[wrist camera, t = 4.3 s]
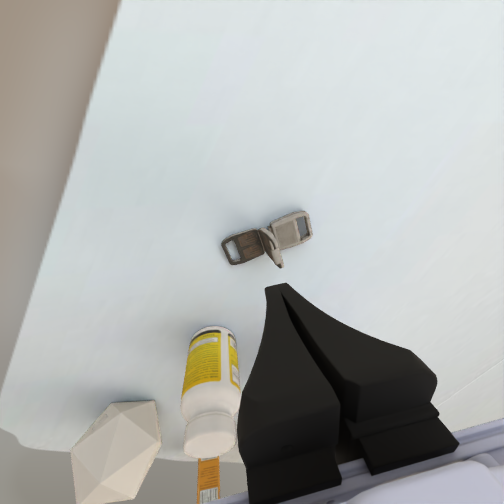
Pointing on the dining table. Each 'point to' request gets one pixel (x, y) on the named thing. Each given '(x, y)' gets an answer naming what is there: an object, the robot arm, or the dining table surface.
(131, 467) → the die
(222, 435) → the supplement bottle
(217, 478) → the supplement box
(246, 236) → the strap clip
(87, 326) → the dining table surface
